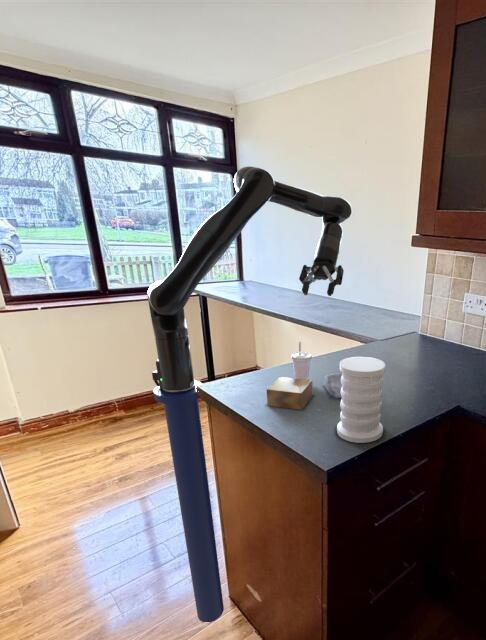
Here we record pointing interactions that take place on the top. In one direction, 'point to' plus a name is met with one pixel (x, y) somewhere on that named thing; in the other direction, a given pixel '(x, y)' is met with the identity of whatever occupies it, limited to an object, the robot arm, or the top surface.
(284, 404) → the oak block
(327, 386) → the stone block
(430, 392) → the top surface
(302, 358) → the smoothie
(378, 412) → the decorative container
